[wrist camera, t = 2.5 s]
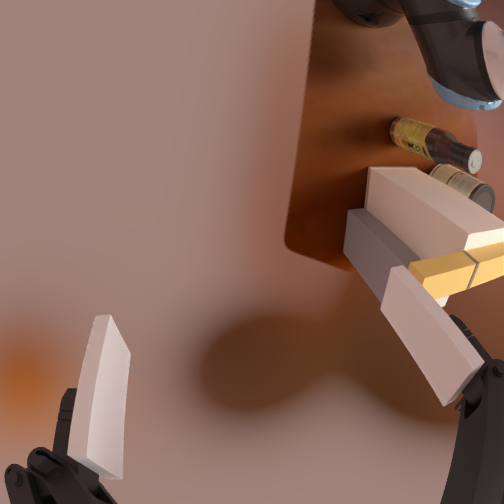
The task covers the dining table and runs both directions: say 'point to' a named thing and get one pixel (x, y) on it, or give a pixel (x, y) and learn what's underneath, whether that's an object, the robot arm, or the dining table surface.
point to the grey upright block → (375, 250)
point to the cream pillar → (428, 212)
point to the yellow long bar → (459, 270)
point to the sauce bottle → (434, 144)
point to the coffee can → (465, 185)
